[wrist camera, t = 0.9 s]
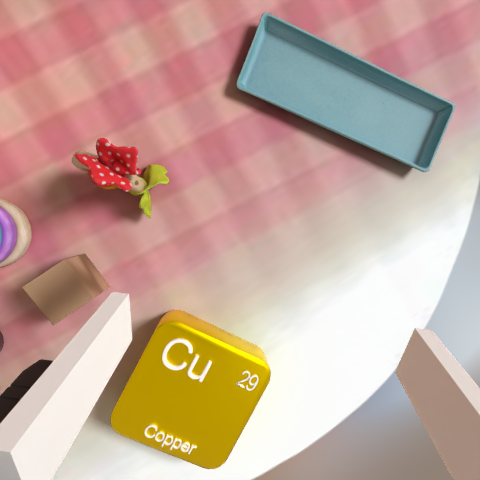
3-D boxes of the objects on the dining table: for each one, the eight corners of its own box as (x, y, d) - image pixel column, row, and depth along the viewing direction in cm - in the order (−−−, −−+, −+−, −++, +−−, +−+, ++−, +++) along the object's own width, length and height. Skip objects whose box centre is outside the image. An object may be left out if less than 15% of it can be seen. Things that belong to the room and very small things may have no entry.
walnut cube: (50, 276, 33) (22, 287, 28) (85, 253, 34) (63, 259, 29) (76, 309, 34) (52, 325, 29) (110, 286, 34) (93, 298, 29)
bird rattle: (111, 204, 35) (170, 224, 33) (19, 184, 25) (97, 211, 22) (124, 157, 35) (185, 173, 32) (37, 115, 24) (118, 134, 22)
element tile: (115, 404, 36) (100, 432, 31) (169, 302, 35) (162, 316, 31) (218, 446, 38) (219, 479, 33) (270, 351, 37) (278, 370, 33)
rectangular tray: (233, 94, 34) (234, 85, 32) (260, 22, 34) (264, 7, 31) (414, 176, 37) (428, 173, 35) (441, 111, 37) (457, 104, 34)
